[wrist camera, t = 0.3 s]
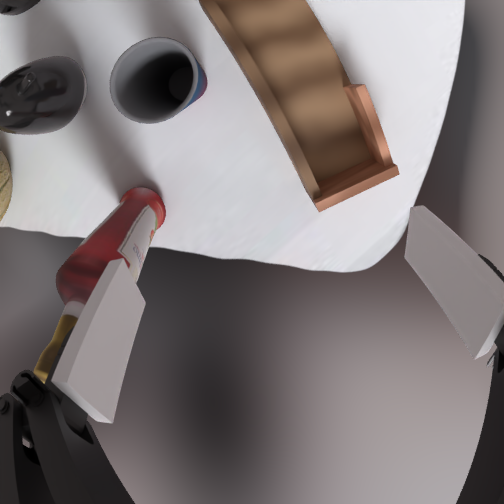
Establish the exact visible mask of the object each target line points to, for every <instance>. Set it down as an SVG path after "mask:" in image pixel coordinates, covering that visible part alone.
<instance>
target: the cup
mask: <svg viewBox="0 0 504 504" xmlns="http://www.w3.org/2000/svg"><path fill="white" fill-rule="evenodd" d="M206 88H207V77H206V75H205V73H204V71H203V70H202V68H201V67H200V65H199V64H198V62H197V60H196V59H195V57H194V56H193V54H192V53H191V52H190V50H189V49H188V48H187V47H186V46H184V45H183V44H182V43H180V42H178V41H176V40H173V39H170V38H164V37H155V38H148V39H145V40H142V41H140V42H138V43H136V44H134V45H132V46H131V47H130V48H128V49H127V50H126V51H125V52H124V53H123V54H122V55H121V56H120V57H119V59H118V61H117V62H116V64H115V66H114V68H113V71H112V73H111V78H110V93H111V98H112V100H113V102H114V105H115V106H116V107H117V109H118V110H119V111H120V112H121V113H122V114H123V115H124V116H125V117H127V118H129V119H130V120H133V121H136V122H139V123H146V124H151V123H159V122H162V121H166V120H168V119H170V118H172V117H174V116H175V115H177V114H178V113H179V112H181V111H182V110H184V109H185V108H186V107H188V106H189V105H190V104H192V103H193V102H195V101H196V100H197V99H199V98H200V97H201V96H202V95H203V94H204V92H205V90H206Z"/></svg>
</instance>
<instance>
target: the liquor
mask: <svg viewBox="0 0 504 504" xmlns="http://www.w3.org/2000/svg"><path fill="white" fill-rule="evenodd" d="M165 216H166V210H165V205H164V203H163V201H162V199H161V198H160V197H159V195H158V194H156V193H155V192H154V191H152V190H150V189H147V188H143V187H137V188H133V189H130V190H129V191H127V192H126V193H125V194H124V195H123V197H122V198H121V201H120V204H119V205H118V206H117V207H116V208H115V209H114V210H113V211H112V212H111V213H110V214H109V216H108V217H107V218H106V219H105V220H104V221H103V222H102V223H101V224H100V225H99V226H98V227H97V228H96V229H95V230H94V231H93V232H92V233H91V234H90V235H89V236H88V237H87V238H86V239H85V240H84V241H83V242H82V243H81V244H80V245H79V247H78V248H77V249H76V250H75V251H74V252H73V254H72V255H71V256H70V257H69V258H68V259H67V261H66V262H65V263H64V264H63V265H62V266H61V268H60V269H59V270H58V272H57V275H56V286H57V290H58V293H59V295H60V297H61V299H62V301H63V302H64V304H65V309H64V311H63V314H62V316H61V319H60V321H59V324H58V326H57V328H56V331H55V334H54V336H53V339H52V341H51V342H50V343H49V345H48V346H47V347H46V348H45V350H44V351H43V352H42V354H41V356H40V359H39V361H38V363H37V365H36V367H35V369H34V374H35V375H36V376H37V377H38V378H39V379H40V380H41V381H42V382H43V383H45V381H46V378H47V376H48V374H49V371H50V369H51V366H52V364H53V362H54V359H55V357H56V356H57V353H58V350H59V348H61V344H62V342H63V339H64V337H65V335H66V334H67V333H68V332H69V331H70V329H71V328H72V327H73V326H75V325H76V323H77V321H78V319H79V317H80V315H81V313H82V311H83V309H84V307H85V305H86V303H87V301H88V299H89V297H90V295H91V294H92V292H93V290H94V288H95V286H96V284H97V283H98V281H99V279H100V277H101V275H102V274H103V272H104V270H105V268H106V267H107V265H108V263H109V262H110V261H112V260H117V259H121V258H124V260H125V263H126V265H127V267H128V269H129V271H130V273H131V275H132V277H133V279H134V281H135V283H136V282H137V280H138V277H139V274H140V271H141V268H142V265H143V262H144V259H145V256H146V253H147V251H148V248H149V246H150V243H151V241H152V238H153V236H154V234H155V231H156V230H157V229H158V228H160V227H161V225H162V224H163V222H164V220H165Z"/></svg>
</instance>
